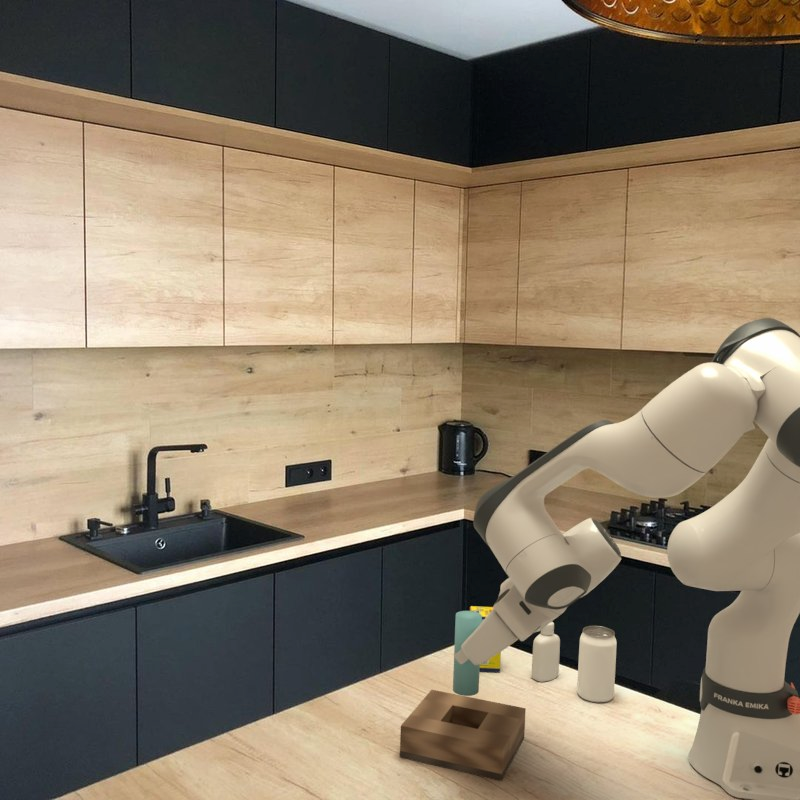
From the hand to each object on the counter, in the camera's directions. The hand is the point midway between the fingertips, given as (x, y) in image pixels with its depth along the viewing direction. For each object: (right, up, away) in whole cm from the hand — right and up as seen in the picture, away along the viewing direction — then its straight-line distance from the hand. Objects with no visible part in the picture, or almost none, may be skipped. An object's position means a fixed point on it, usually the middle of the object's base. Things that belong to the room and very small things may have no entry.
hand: (463, 652), depth 133 cm
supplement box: (+6, -13, +34) cm, 36 cm away
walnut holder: (0, -15, +2) cm, 15 cm away
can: (+25, -14, +22) cm, 36 cm away
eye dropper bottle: (+18, -13, +29) cm, 37 cm away
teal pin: (0, -6, 0) cm, 6 cm away
